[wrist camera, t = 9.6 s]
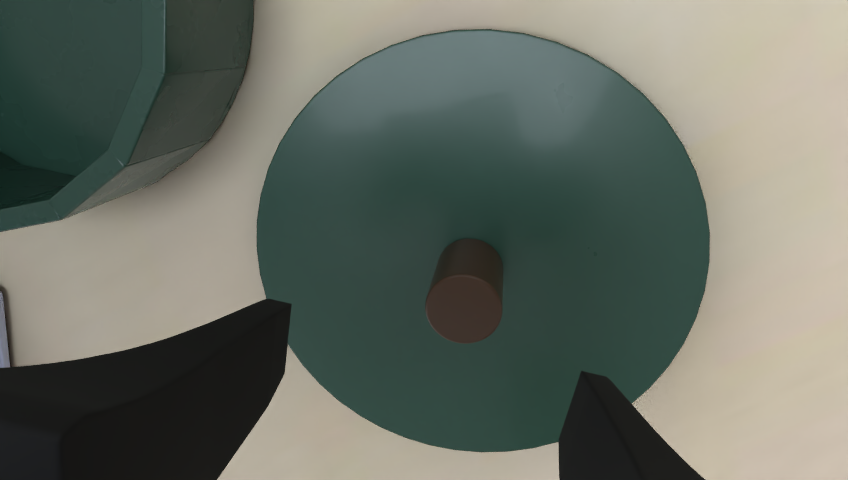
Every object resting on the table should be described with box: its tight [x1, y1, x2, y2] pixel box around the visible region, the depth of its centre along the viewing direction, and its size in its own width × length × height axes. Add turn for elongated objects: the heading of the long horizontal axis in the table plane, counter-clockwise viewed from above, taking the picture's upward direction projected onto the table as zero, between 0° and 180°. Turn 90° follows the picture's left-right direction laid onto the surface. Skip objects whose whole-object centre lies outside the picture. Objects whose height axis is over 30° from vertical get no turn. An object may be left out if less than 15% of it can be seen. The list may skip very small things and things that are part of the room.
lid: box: [257, 29, 710, 452], centre depth 19 cm, size 16×16×4 cm
